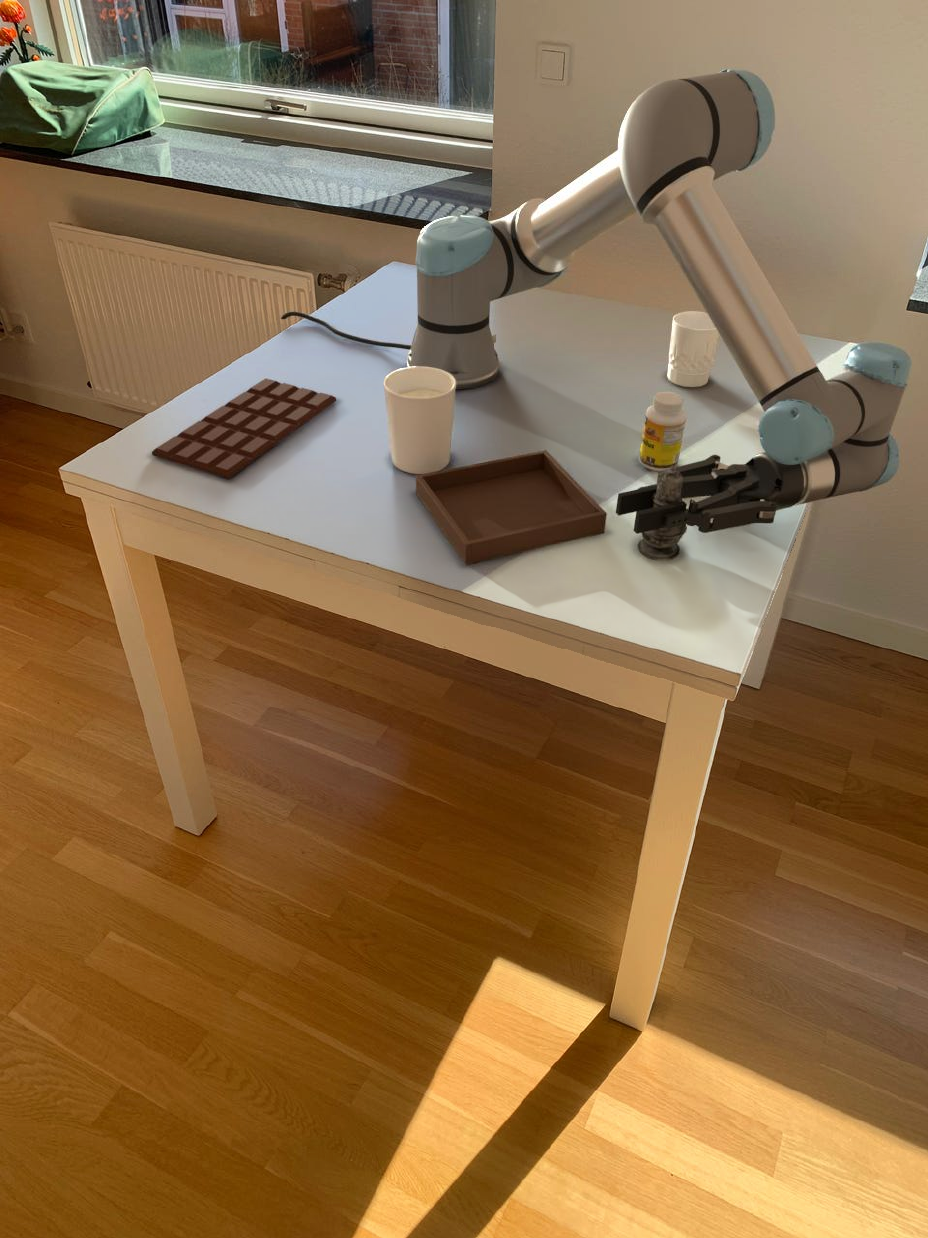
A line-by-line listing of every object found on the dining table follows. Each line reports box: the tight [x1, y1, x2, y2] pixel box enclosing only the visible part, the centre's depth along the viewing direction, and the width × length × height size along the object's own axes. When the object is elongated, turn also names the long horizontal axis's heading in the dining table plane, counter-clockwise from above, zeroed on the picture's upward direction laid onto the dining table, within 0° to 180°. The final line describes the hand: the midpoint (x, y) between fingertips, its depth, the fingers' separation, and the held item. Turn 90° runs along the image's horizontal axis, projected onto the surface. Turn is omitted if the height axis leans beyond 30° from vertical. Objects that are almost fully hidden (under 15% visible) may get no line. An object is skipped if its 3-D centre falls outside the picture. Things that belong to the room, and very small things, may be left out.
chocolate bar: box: [151, 378, 337, 480], centre depth 144 cm, size 27×14×1 cm, turn 153°
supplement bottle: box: [638, 391, 687, 472], centre depth 135 cm, size 6×6×10 cm
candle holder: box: [383, 367, 457, 475], centre depth 134 cm, size 10×10×12 cm
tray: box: [415, 449, 608, 565], centre depth 126 cm, size 19×17×3 cm
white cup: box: [666, 310, 721, 388], centre depth 157 cm, size 8×8×10 cm
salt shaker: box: [637, 465, 688, 562], centre depth 118 cm, size 6×6×12 cm
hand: (627, 513), depth 116 cm, fingers closed on salt shaker, 4 cm apart
